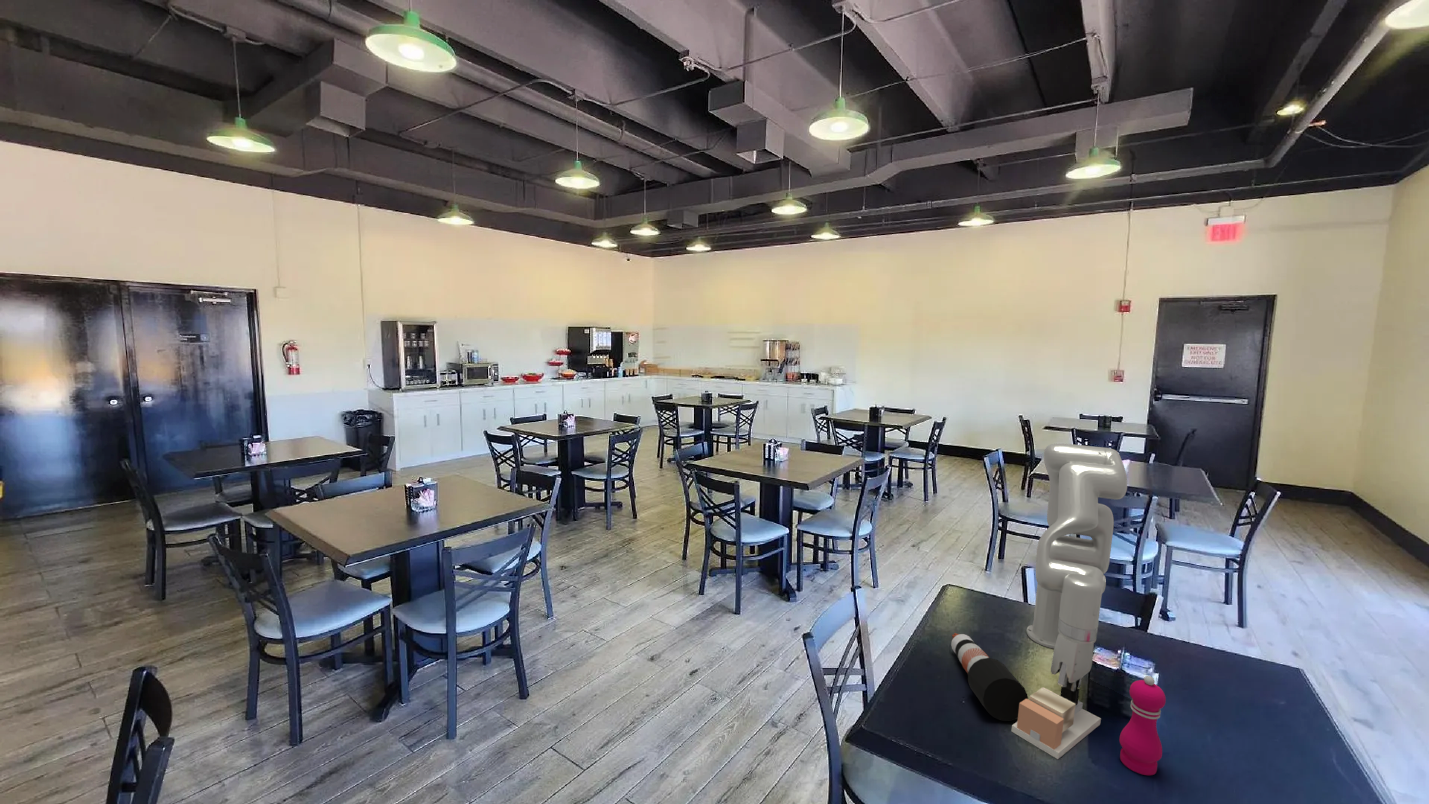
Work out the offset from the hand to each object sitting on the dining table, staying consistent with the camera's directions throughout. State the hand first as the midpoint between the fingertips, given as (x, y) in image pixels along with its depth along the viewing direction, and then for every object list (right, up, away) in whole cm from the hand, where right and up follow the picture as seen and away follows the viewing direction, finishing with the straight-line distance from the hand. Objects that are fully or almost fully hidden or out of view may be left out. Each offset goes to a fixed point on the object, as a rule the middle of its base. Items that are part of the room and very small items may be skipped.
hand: (1068, 702), depth 134 cm
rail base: (-4, -5, -2) cm, 7 cm away
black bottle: (-15, -2, +15) cm, 21 cm away
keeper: (-7, -2, -5) cm, 9 cm away
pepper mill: (+7, -7, -13) cm, 16 cm away
